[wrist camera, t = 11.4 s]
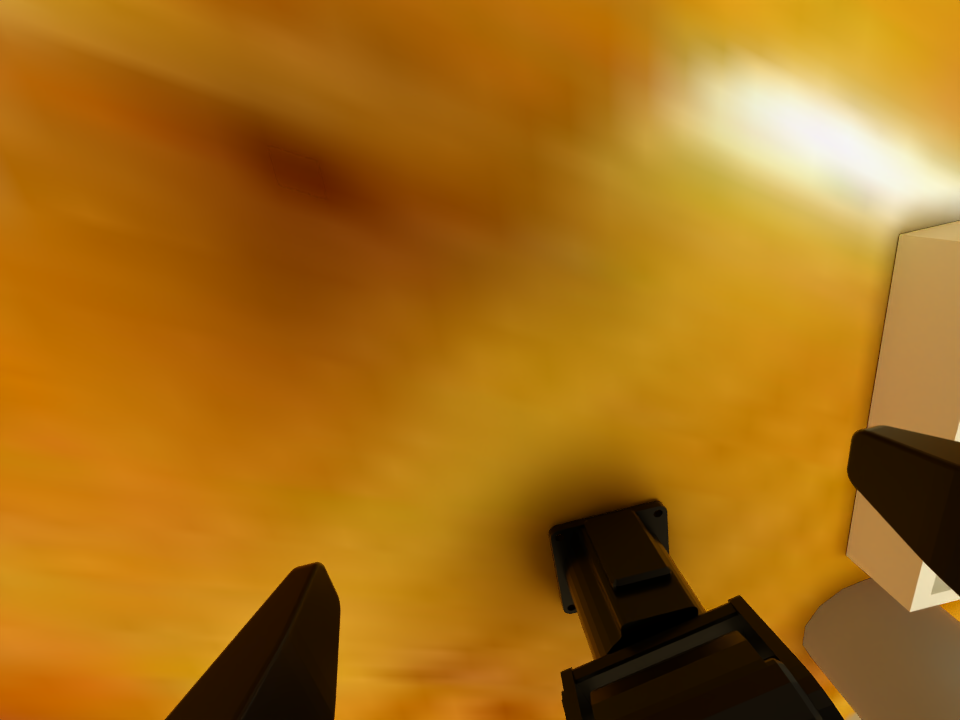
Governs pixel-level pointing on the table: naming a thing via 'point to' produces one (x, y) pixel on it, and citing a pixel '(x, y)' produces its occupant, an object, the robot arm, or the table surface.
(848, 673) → the cup
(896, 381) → the tray
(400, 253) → the table surface
